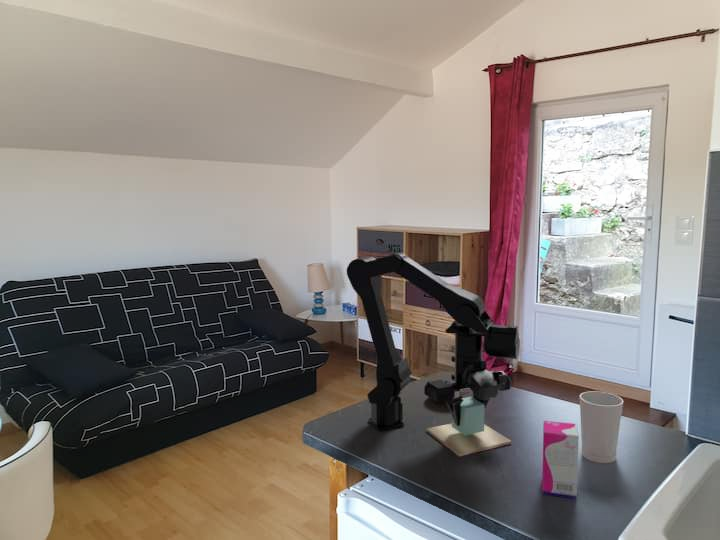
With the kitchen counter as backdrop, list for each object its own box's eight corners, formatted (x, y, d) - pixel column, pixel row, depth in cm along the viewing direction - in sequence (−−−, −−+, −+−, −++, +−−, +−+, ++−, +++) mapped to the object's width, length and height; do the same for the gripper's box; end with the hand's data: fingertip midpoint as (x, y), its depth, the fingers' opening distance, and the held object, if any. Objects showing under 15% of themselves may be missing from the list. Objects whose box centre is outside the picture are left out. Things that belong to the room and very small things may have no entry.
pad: (459, 456, 108) (459, 453, 108) (426, 431, 120) (426, 428, 120) (511, 443, 113) (511, 441, 113) (475, 420, 125) (475, 418, 125)
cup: (602, 469, 102) (604, 409, 101) (568, 451, 109) (570, 395, 108) (629, 459, 106) (632, 401, 104) (595, 443, 113) (597, 388, 111)
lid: (431, 408, 133) (431, 389, 132) (424, 394, 143) (424, 375, 142) (473, 407, 133) (473, 387, 133) (464, 392, 143) (464, 374, 142)
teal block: (464, 435, 113) (464, 408, 112) (451, 426, 118) (451, 400, 117) (484, 431, 115) (484, 404, 114) (470, 422, 120) (471, 396, 119)
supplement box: (575, 482, 98) (577, 422, 96) (577, 499, 92) (579, 437, 91) (541, 477, 100) (543, 419, 98) (541, 494, 94) (543, 432, 92)
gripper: (451, 371, 103) (451, 447, 105) (528, 358, 110) (527, 430, 112) (423, 355, 113) (423, 425, 115) (495, 344, 120) (494, 410, 123)
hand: (467, 423), depth 116 cm, fingers closed on teal block, 5 cm apart
